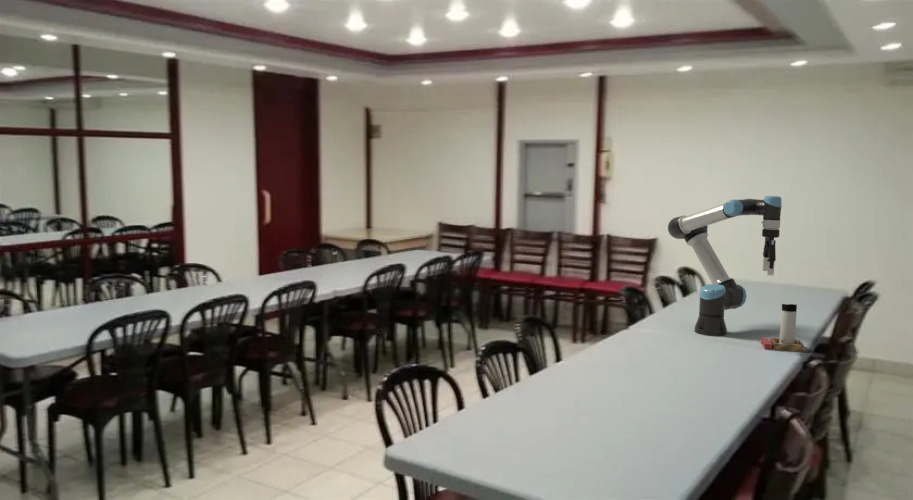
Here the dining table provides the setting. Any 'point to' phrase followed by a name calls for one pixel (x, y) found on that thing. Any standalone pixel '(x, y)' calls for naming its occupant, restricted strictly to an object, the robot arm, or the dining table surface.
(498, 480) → the dining table surface
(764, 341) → the door edge strip
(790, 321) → the travel mug
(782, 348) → the box
